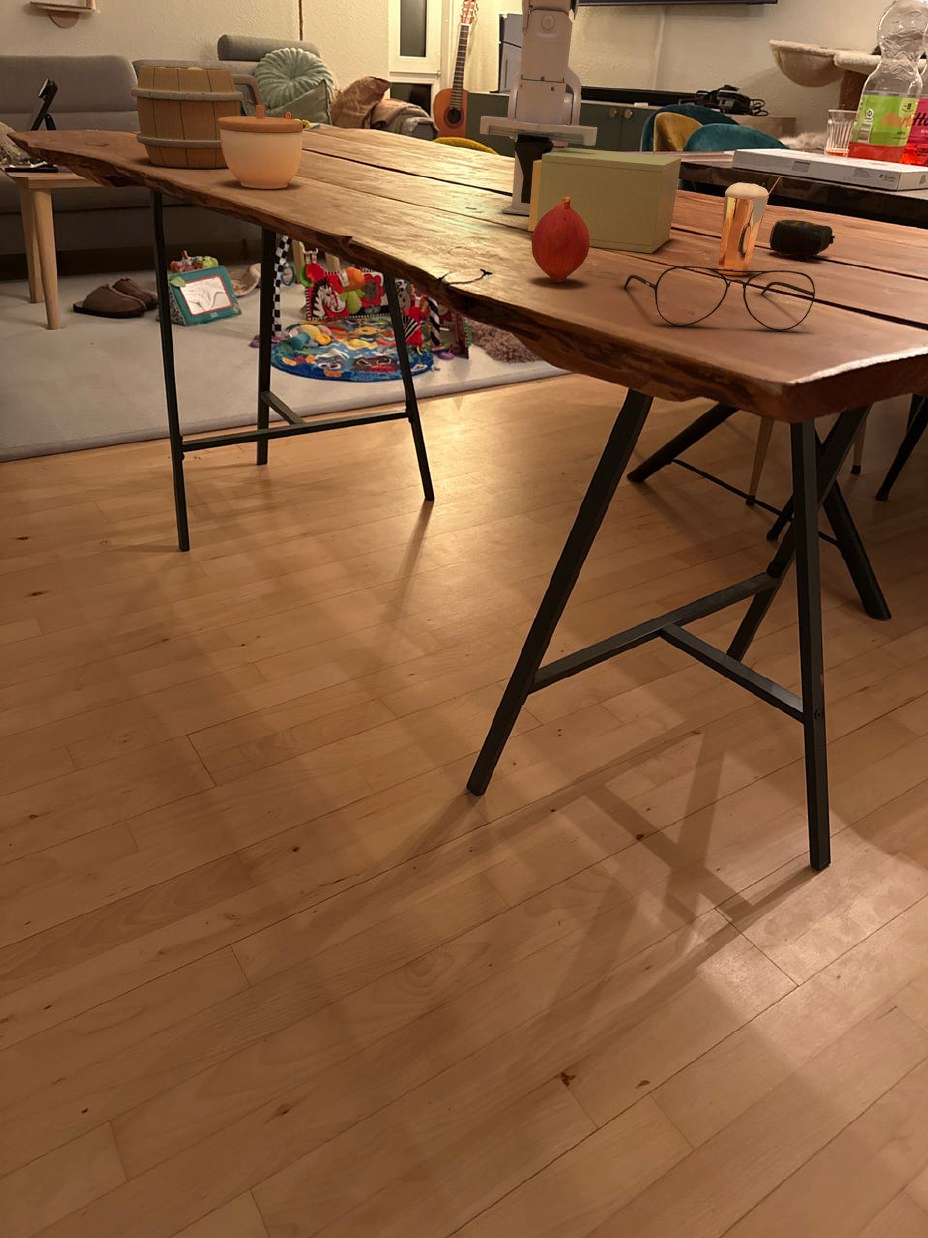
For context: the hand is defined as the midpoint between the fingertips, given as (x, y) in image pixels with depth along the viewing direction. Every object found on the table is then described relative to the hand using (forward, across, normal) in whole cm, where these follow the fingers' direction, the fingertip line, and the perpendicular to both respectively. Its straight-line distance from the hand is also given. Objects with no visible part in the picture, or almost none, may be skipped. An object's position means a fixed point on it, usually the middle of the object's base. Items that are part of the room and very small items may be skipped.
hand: (530, 202), depth 119 cm
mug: (+5, -71, +32) cm, 78 cm away
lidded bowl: (+5, -48, +14) cm, 50 cm away
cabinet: (+3, +10, 0) cm, 11 cm away
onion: (+3, +12, -28) cm, 31 cm away
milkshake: (+3, +28, -12) cm, 31 cm away
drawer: (+2, +8, 0) cm, 8 cm away
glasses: (+3, +28, -31) cm, 42 cm away
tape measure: (+3, +34, +4) cm, 34 cm away
